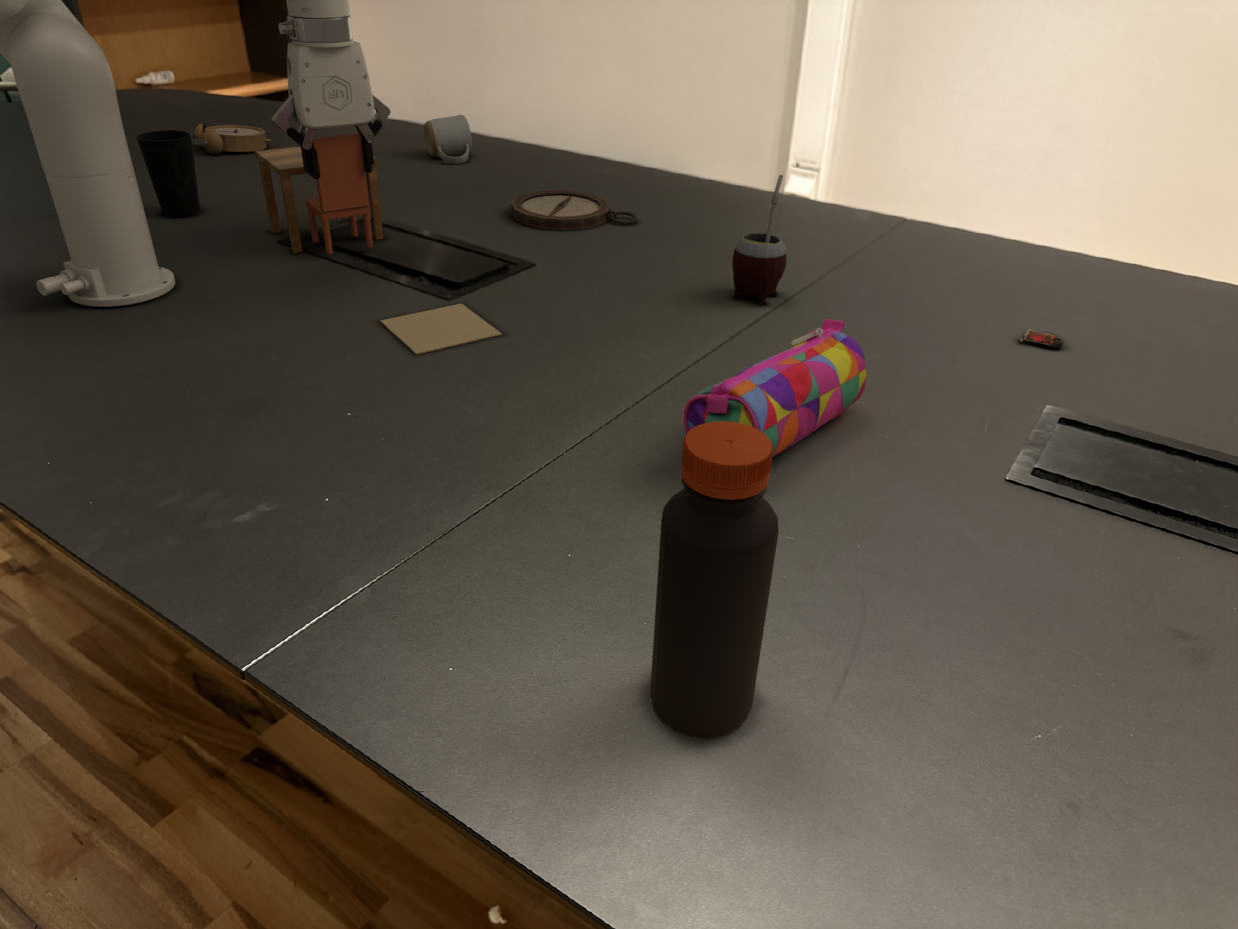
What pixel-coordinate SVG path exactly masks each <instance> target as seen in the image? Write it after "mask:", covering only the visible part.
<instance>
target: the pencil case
mask: <svg viewBox="0 0 1238 929" xmlns="http://www.w3.org/2000/svg"><path fill="white" fill-rule="evenodd" d="M845 324H846V322H845V321H843V320H838V319H830V318H825V319H824V321H823V323H822V325H821V327H817V328H816V329H815V330H812V331H810V332H807V334H805V335H803V336H799V337H797V338H794V339H793V340H791V341H790V345H791V348H789V349H785V350H783V351H781V352H779V353H777V354H774V355H772V356H768V357H766V358H765V359H763V360H761V361H759V362H756V363H754V364H753V365H751V366H748V367H746V368H744V369H743V370H742V371H740V372H738V373H737V374H736V375H734V376H732V377H729V378H727V379H725V380H722V381H720V382H718V383H716V384H714V385H710V386H708V387H706V388H704V389H702V390H701V391H698V392H697V393H695V394H693V395H692V396H690V398H689V399H688V400H687V402H686V404H685V406H684V410H683V426H684V431H685V435H686V434H687V432H689V430H691V429H693V428H695V427H696V426H698V425H701V424H705V423H709V422H719V421H726V422H736V423H741V424H745V425H749V426H751V427H753V428H755V429H758V430H759V431H761V432H763V434H765V435H766V436H767V437H768V438H769V440H771V441H770V442H772V444H773V445H772V446H773V455H772V458H774V457H776V456H778V455H779V454H781V453H783V452H784V451H786V450H788V449H789V448H791V447H792V446H794V445H796V444H797V443H798V442H800V441H801V440H803V439H804V438H806V437H807V436H809V435H811V434H812V433H814V432H816V430H818V429H819V428H821V427H822V426H824V425H825V424H827V423H829V422H830V421H832V420H834V419H836V418H837V417H838V416H841V415H842V414H843V413H845V411H847V410H848V408H849V407H852V405H854V404H855V403H857V402H858V401H859V400H860V398H861V397H862V395H863V393H864V391H865V389H866V383H867V367H866V366H867V365H866V358H865V354H864V351H863V348H862V347H861V345H860V344H859V343H858V341H857V340H856V339H854V338H852V336H849V335H847V334H846V333H844V332H842V331H843V330H844V327H845Z"/></svg>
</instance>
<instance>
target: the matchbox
mask: <svg viewBox="0 0 1238 929" xmlns="http://www.w3.org/2000/svg"><path fill="white" fill-rule="evenodd" d="M1023 335H1024V337H1021V338H1020V339H1019V342H1021V344H1023V342H1024V340H1025V341H1027V342H1032V343H1035V344H1036V343H1037V344H1040V345H1041V344H1042V345H1045V346H1049V347H1054V348H1059V349H1061V348H1065V346H1064V345H1065V340H1063V338H1062V337H1059V336H1057V335H1055V334H1054V333H1052V332H1041V331H1036V330H1033V329H1028V330H1027V331H1026V332H1025V333H1024V334H1023Z"/></svg>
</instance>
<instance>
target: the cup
mask: <svg viewBox="0 0 1238 929" xmlns="http://www.w3.org/2000/svg"><path fill="white" fill-rule="evenodd" d="M191 134H192V133H190V132H189V131H185V130H179V129H176V130H175V129H160V130H153V131H147V132H146V131H145V132H142V133H140V134H137V136H136V140H137V143H138V146H139V149H140V152H141V154H142V158H143V161H144V163H145V164H144V165H145V166H146V169H147V172H148V176H149V177H150V178H149V179H150V181H151V183H152V187H153V190H154V192H155V195H156V198H157V201H158V204H159V207H160V209H161V213H162V215H163V216H164V217H166V218H171V219H172V218H175V219H182V218H190V217H194V216H196V215H198V214H200V213H201V206H200V198H199V189H198V181H197V174H196V167H195V164H196V163H195V159H194V158H195V157H194V148H193V144H192V139H191Z"/></svg>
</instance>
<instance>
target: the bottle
mask: <svg viewBox="0 0 1238 929" xmlns="http://www.w3.org/2000/svg"><path fill="white" fill-rule="evenodd" d="M770 441H771V440H769V438H768V437H767V436H766V435H765V434H763V432H761V431H759V430H758V429H755V428H753V427H751V426H749V425H745V424H741V423H736V422H726V421H719V422H709V423H705V424H701V425H698V426H696V427H695V428H693V429H691V430H689V432H687V434H686V433H685V435H684V437H683V443H682V454H681V455H682V457H681V470H680V471H681V473H680V475H681V484H682V486H683V488H682V489H681V490H680V491H677V492H676V493H674V494H673V495H672V496H671V497H670V498H669V500H668V501H667V502H666V503H665V505H664V506H663V509H662V515H661V521H660V535H659V536H660V537H659V551H658V566H657V582H656V594H655V595H656V598H655V612H654V628H653V640H652V641H653V642H652V656H651V658H652V659H651V672H650V673H651V674H650V690H649V697H650V701H651V705H652V707H653V711H654V713H655V714H656V715H657V716H658V718H659V719H660V720H661V721H662V723H664V724H666V725H667V726H668V727H670V728H671V729H672V730H674V731H676V732H678V733H681V734H684V735H687V736H689V737H696V738H703V739H704V738H705V739H707V738H708V739H709V738H717V737H723V736H724V735H727V734H729V733H732V732H734V731H736V730H737V729H738V728H739V727H741V726H742V725H743V724H744V723H745V722H746V721H747V719H748V717H749V715H750V713H751V711H752V708H753V703H754V696H755V690H756V689H755V688H756V684H757V677H758V671H759V664H760V658H761V657H760V656H761V650H762V645H763V637H764V630H765V624H766V617H767V611H768V604H769V597H770V592H771V585H772V579H773V578H772V577H773V571H774V565H775V558H776V551H777V546H778V545H777V544H778V538H779V518H778V515H777V514H776V512H775V510H774V508H773V507H772V505H771V504H770V502H769V501H767V500H766V499H765V498H764V495H765V493H766V492H767V490H768V485H769V482H770V475H771V470H772V469H771V468H772V462H773V457H772V455H773V446H772V445H773V444H772V442H770Z"/></svg>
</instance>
